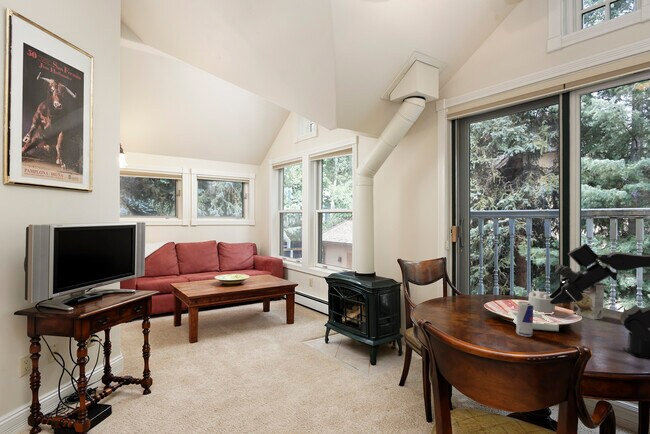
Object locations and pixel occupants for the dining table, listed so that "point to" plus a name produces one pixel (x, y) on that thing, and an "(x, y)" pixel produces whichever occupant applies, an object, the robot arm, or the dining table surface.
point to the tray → (538, 325)
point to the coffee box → (591, 302)
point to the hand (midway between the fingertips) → (550, 300)
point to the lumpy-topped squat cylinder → (541, 302)
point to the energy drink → (524, 319)
